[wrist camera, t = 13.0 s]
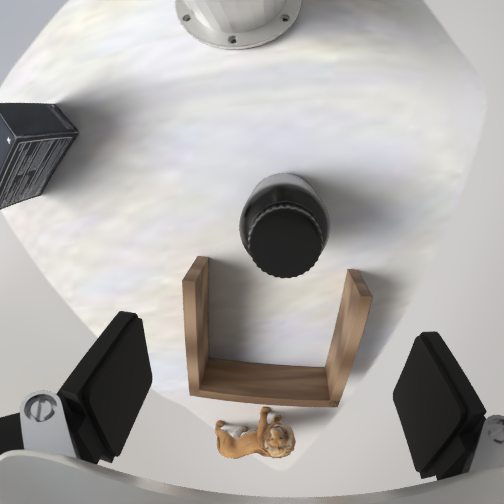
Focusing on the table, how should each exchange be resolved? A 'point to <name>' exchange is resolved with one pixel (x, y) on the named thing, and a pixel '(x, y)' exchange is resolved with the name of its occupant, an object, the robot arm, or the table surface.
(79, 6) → the table surface
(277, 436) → the lion figurine
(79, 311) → the table surface
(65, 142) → the small box
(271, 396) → the walnut u-shaped bracket
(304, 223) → the supplement bottle
